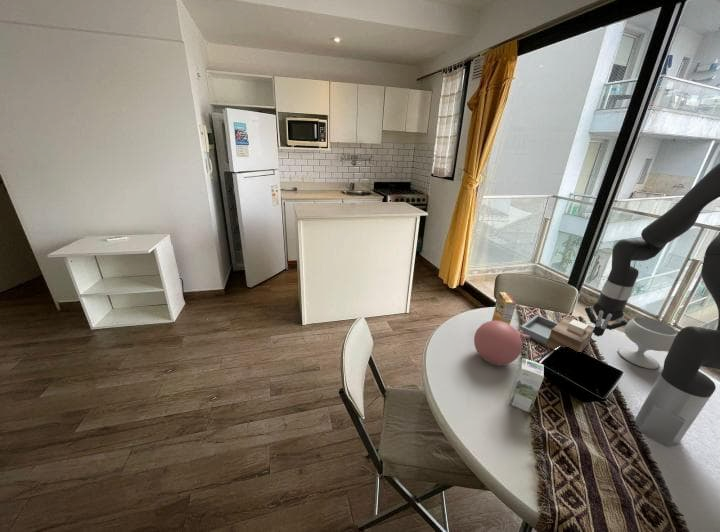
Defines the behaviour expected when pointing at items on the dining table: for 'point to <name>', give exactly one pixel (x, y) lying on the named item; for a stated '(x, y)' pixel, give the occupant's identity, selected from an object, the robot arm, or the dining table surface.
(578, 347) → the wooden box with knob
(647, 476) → the dining table surface
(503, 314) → the candy box
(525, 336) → the pink egg-shaped ball
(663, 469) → the dining table surface
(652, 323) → the chalice
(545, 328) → the box
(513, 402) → the syrup box
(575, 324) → the tile
